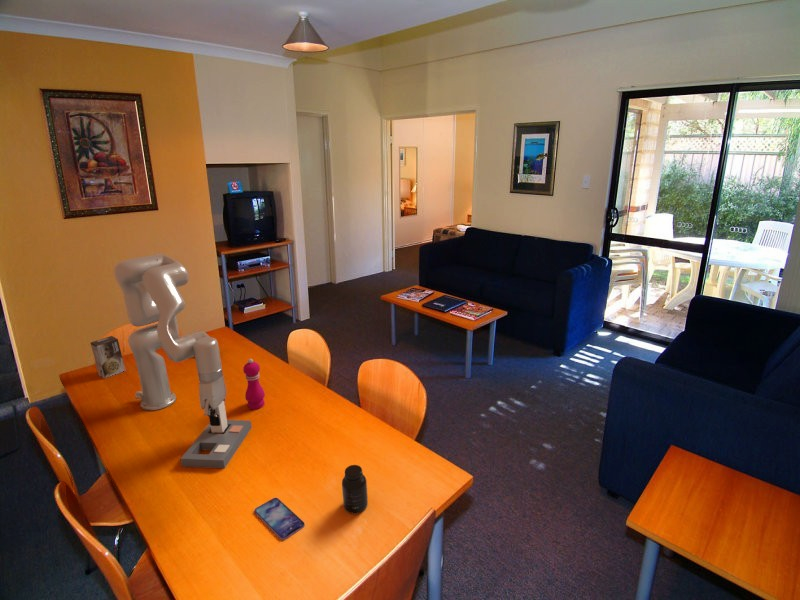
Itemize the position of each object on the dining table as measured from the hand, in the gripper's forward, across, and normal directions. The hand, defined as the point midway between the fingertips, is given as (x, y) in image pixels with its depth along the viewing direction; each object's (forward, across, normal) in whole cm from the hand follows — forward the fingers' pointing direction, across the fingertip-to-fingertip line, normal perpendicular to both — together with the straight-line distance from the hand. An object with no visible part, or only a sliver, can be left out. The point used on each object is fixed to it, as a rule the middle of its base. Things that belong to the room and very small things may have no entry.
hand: (218, 421), depth 160 cm
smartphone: (+7, +35, +33) cm, 49 cm away
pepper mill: (+6, -21, +5) cm, 22 cm away
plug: (+3, 0, 0) cm, 3 cm away
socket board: (+6, +5, +2) cm, 8 cm away
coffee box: (+6, -44, -71) cm, 84 cm away
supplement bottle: (+7, +29, +53) cm, 61 cm away
